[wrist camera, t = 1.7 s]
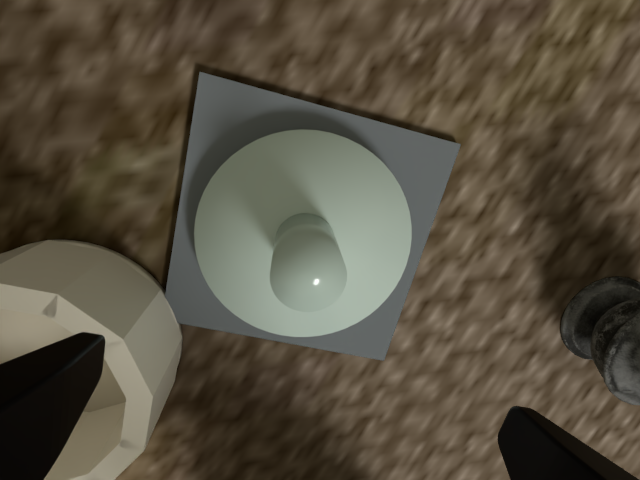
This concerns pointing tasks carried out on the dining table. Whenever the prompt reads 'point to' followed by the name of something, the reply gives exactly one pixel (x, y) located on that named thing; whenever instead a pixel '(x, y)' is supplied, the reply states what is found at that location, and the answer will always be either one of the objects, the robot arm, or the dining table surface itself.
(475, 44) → the dining table surface
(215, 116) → the mat
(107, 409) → the bowl
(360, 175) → the lid
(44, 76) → the dining table surface
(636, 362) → the grey tall ribbed piece
